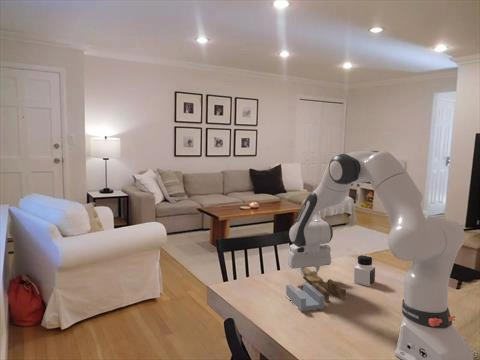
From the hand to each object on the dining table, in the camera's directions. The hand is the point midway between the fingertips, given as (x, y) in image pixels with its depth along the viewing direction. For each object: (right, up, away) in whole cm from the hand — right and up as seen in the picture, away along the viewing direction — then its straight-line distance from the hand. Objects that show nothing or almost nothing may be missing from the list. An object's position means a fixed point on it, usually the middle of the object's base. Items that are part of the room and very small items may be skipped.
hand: (309, 275), depth 159 cm
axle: (0, 0, -2) cm, 2 cm away
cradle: (-7, -4, -23) cm, 25 cm away
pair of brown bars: (+4, -3, -16) cm, 17 cm away
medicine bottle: (+24, -2, -3) cm, 24 cm away
